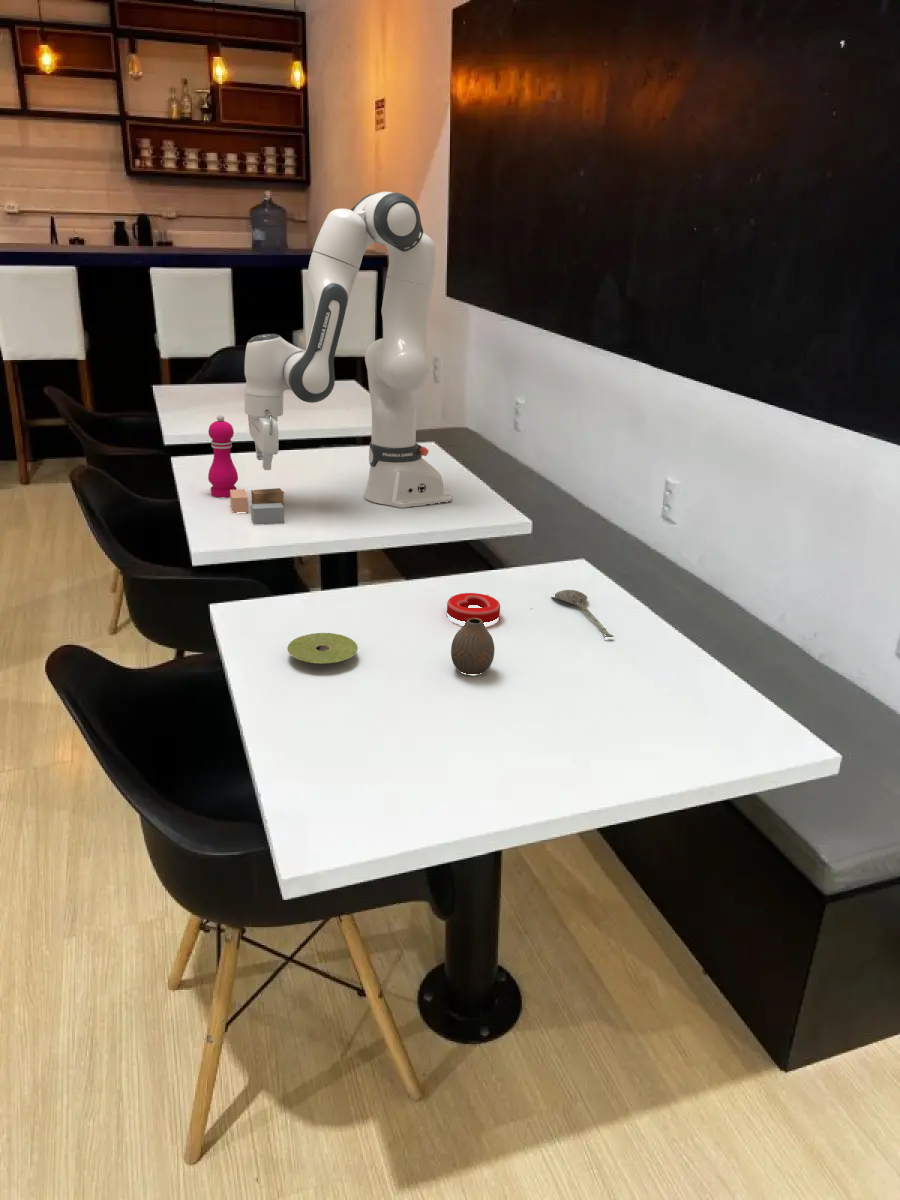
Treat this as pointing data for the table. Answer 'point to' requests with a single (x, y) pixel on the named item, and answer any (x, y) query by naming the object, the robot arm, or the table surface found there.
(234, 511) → the terracotta brick
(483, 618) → the decorative ornament
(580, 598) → the soupspoon
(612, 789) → the table surface
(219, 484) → the pepper mill
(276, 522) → the slate-grey brick
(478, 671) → the vase
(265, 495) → the walnut brick
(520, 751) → the table surface
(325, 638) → the mat
